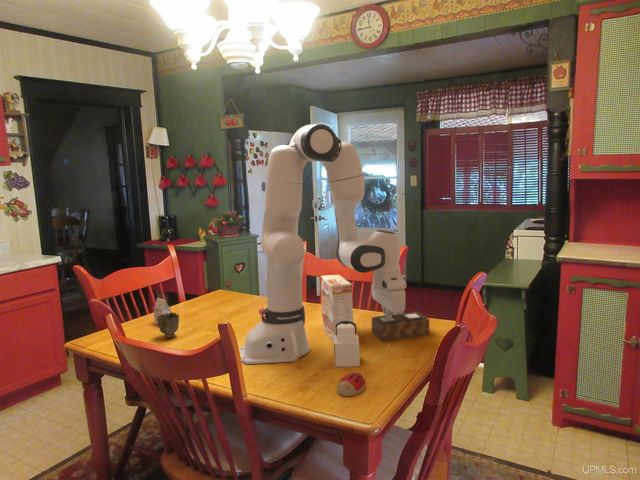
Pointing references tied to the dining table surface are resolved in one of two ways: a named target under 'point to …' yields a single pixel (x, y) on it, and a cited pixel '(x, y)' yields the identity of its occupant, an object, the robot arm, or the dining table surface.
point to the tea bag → (160, 308)
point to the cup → (168, 324)
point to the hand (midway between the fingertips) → (387, 318)
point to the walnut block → (400, 327)
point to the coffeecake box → (335, 302)
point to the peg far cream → (412, 315)
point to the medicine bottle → (346, 345)
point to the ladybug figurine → (351, 385)
